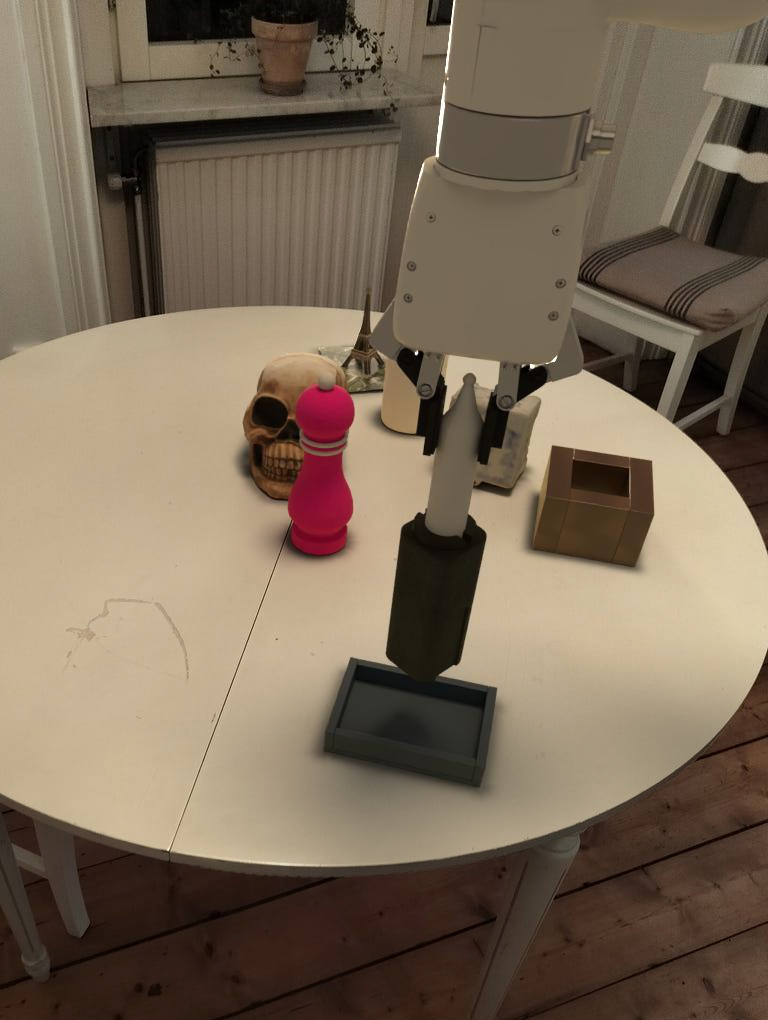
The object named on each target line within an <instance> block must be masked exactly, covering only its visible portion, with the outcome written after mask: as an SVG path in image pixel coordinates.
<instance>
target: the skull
mask: <svg viewBox="0 0 768 1020" xmlns="http://www.w3.org/2000/svg"><path fill="white" fill-rule="evenodd" d="M323 372H330V373H332V374H333V375H334V377H335V380H336V382H335V385H338V386H340V387H342V388H343V389H345V390H346V391H347V392H348V393H349V394H350V392H349V387H348V382H347V379H346V376H345V374H344V372H343V370H342V369H341V367H340V366H339V365H338V364H337V363H335V362H334V361H333V360H331V359H329V358H327V357H325V356H322V355H321V354H317V353H311V352H303V351H298V352H297V351H296V352H295V351H294V352H292V351H291V352H286V353H284V354H280V355H277V356H275V357H274V358H272V359H271V360H270V361H269V362H268V363H266V365H264V368H263V369H262V370H261V372H260V375H259V377H258V379H257V385H256V394H255V395H254V396H253V398H252V399H251V400H250V402H249V403H248V405H247V407H246V409H245V411H244V415H243V418H242V427H243V428H242V429H243V432H244V434H243V435H244V437H245V440H246V441H247V442H248V443H249V444H250V445H249V466H250V470H251V473H252V476H253V479H254V483H255V484H256V485H257V487H259V488H260V489H262V491H264V492H266V494H267V495H269V496H270V497H271V498H274V499H281V500H289V495H290V492H291V490H292V487H293V485H294V483H295V481H296V479H297V478H298V475H299V473H300V471H301V469H302V465H303V459H304V450H303V449H302V447H301V446H300V442H299V441H300V430H301V429H302V428H301V427H300V426H299V424H298V422H297V420H296V414H295V410H296V404H297V401H298V398H299V396H300V395H301V394H302V393H303V391H305V390H306V389H307V388H309V387H311V386H312V385H316V384H318V377H319V375H320V374H321V373H323ZM347 432H348V435H349V434H350V428H349V429H348V430H347Z"/></svg>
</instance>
